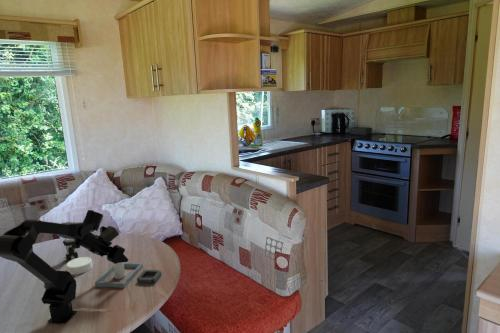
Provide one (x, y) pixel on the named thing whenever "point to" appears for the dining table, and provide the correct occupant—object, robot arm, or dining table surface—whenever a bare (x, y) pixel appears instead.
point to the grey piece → (149, 278)
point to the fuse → (119, 270)
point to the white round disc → (79, 265)
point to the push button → (70, 250)
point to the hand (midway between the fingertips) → (121, 257)
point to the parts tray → (119, 284)
